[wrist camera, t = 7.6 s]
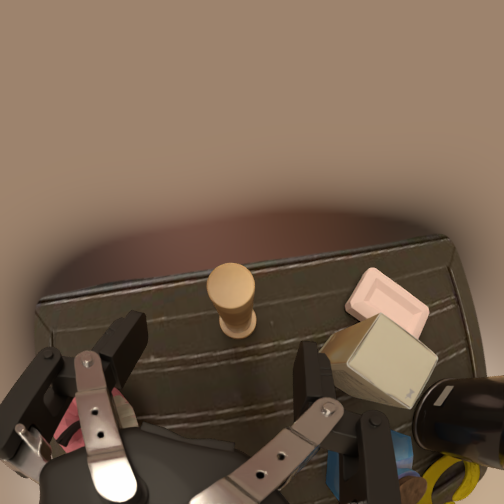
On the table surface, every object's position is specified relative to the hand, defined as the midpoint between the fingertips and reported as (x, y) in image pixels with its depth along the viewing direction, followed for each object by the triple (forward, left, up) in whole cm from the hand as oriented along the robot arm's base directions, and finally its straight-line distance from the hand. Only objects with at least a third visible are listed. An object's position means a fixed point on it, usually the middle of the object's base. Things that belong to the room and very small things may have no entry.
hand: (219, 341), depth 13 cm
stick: (-1, -3, -14) cm, 15 cm away
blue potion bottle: (-13, +13, -15) cm, 23 cm away
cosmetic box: (-11, +2, -15) cm, 18 cm away
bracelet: (-26, +22, -11) cm, 35 cm away
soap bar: (-17, -3, -14) cm, 22 cm away
